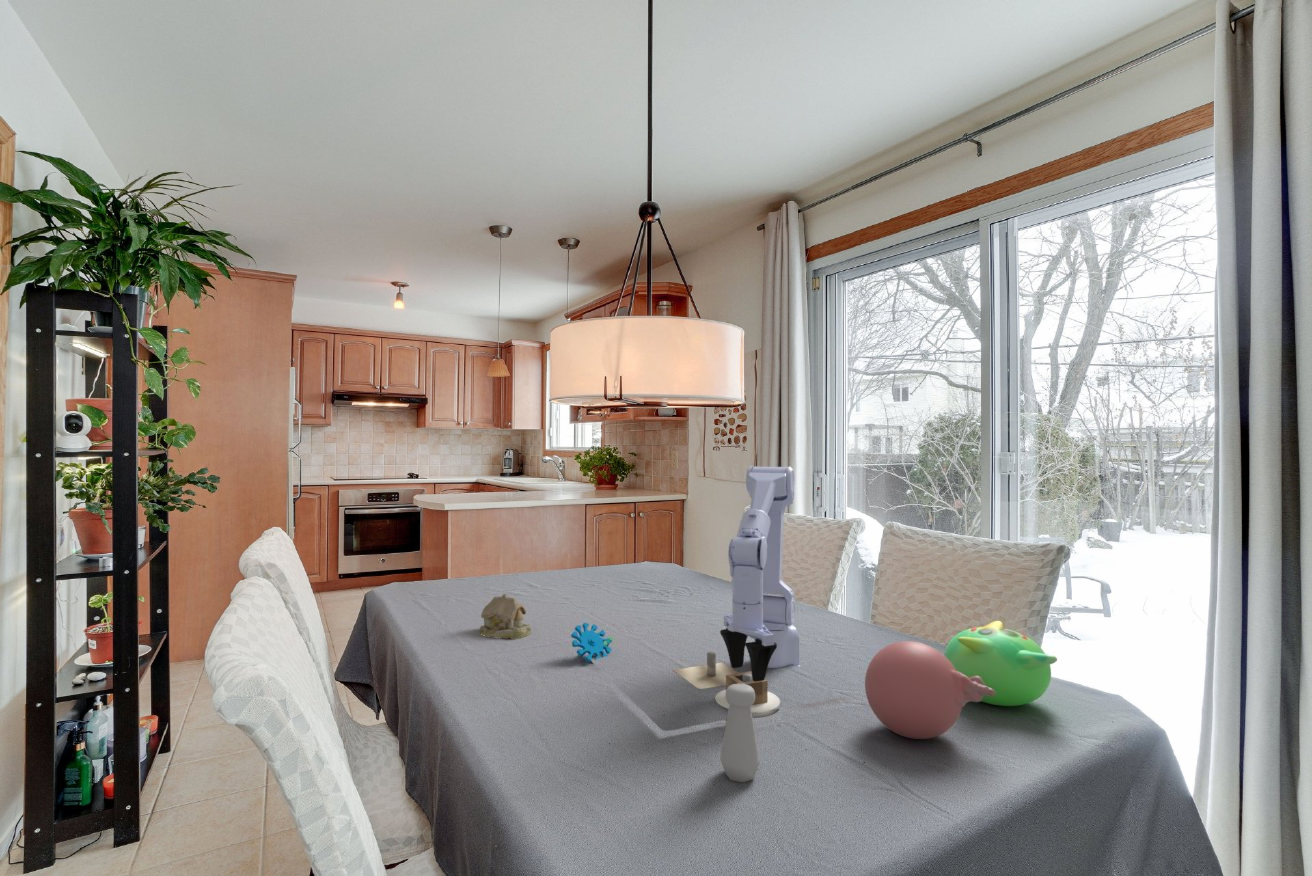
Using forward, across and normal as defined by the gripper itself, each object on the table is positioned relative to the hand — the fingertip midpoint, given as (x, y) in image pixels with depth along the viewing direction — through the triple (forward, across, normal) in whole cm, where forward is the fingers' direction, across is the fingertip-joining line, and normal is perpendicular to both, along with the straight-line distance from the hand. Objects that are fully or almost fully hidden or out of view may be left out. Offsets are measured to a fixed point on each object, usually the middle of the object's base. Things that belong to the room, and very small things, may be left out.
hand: (747, 673), depth 122 cm
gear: (+6, -37, -18) cm, 41 cm away
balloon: (+6, +24, +20) cm, 32 cm away
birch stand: (+6, -14, 0) cm, 15 cm away
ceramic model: (+6, -66, -32) cm, 73 cm away
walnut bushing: (+5, 0, 0) cm, 5 cm away
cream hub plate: (+6, 0, 0) cm, 6 cm away
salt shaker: (+6, +22, -15) cm, 27 cm away
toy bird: (+6, +18, +44) cm, 48 cm away
